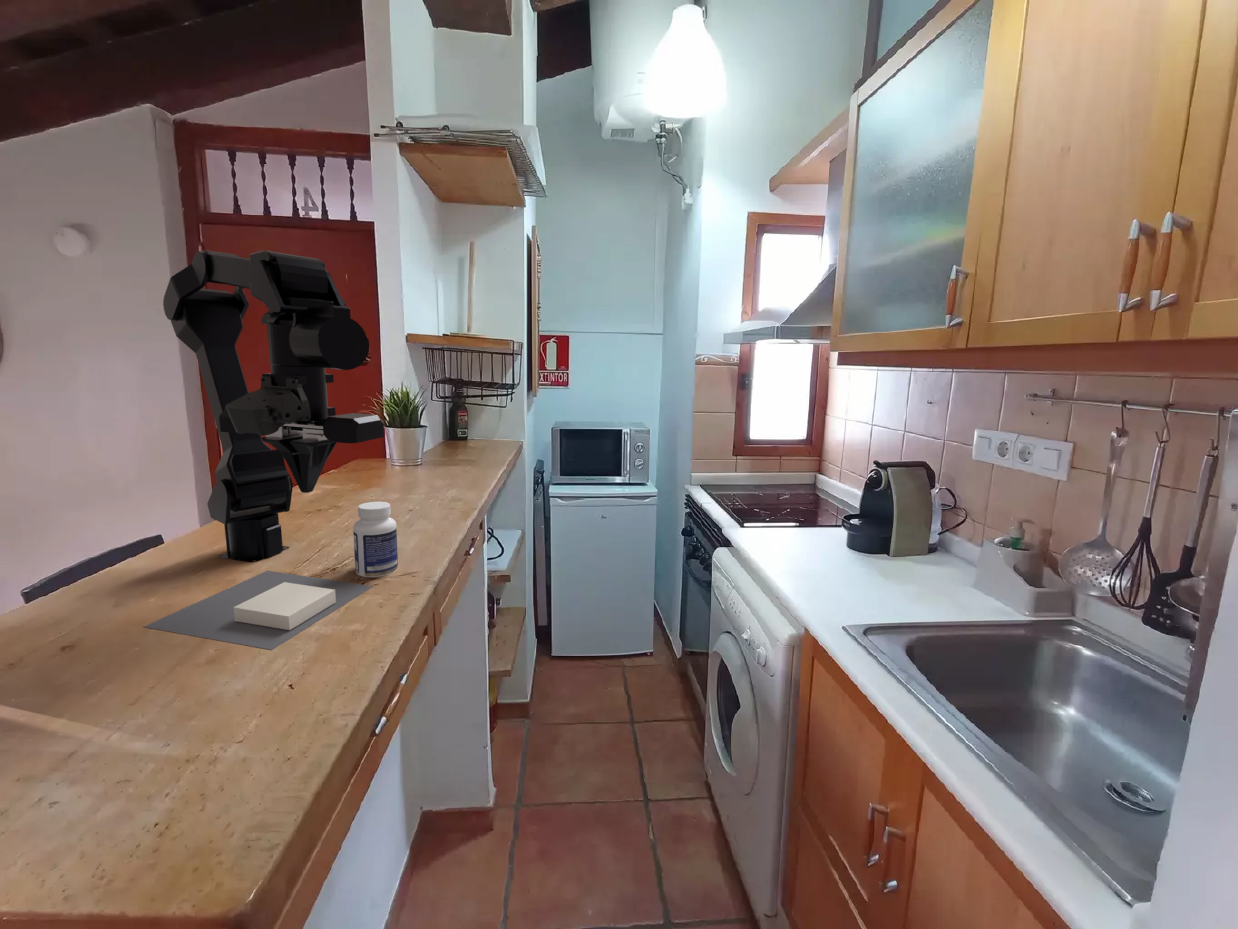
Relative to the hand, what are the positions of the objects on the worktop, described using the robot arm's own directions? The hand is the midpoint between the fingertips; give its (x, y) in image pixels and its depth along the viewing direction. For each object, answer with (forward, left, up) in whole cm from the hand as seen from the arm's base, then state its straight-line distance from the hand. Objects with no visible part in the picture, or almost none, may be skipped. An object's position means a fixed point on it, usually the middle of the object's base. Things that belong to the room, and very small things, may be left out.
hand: (307, 492), depth 69 cm
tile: (0, -8, -11) cm, 14 cm away
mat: (0, -7, -12) cm, 14 cm away
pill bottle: (+5, +6, -13) cm, 15 cm away
